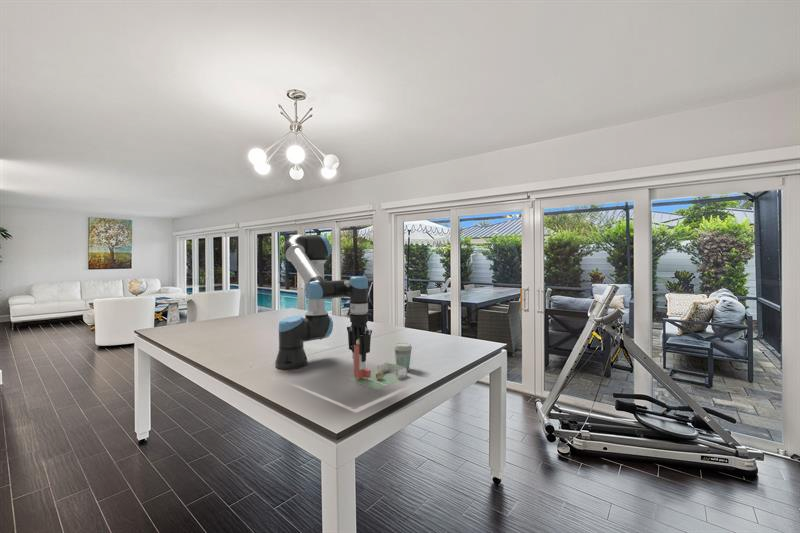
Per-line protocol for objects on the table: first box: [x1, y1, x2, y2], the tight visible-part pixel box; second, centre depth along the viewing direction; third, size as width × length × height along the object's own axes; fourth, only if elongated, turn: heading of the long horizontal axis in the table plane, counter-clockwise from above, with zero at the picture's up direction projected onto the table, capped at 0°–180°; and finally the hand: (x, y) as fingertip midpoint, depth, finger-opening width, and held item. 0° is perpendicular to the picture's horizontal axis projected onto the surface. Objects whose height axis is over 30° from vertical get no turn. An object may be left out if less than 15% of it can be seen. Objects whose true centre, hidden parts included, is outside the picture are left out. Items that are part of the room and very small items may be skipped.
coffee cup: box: [393, 342, 413, 372], centre depth 165 cm, size 8×8×12 cm
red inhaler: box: [353, 339, 372, 379], centre depth 148 cm, size 7×5×16 cm
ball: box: [375, 370, 385, 380], centre depth 148 cm, size 4×4×4 cm
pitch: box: [346, 370, 400, 391], centre depth 148 cm, size 18×14×1 cm
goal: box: [377, 361, 408, 380], centre depth 155 cm, size 12×6×5 cm, turn 50°
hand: (359, 367), depth 148 cm, fingers closed on red inhaler, 3 cm apart
